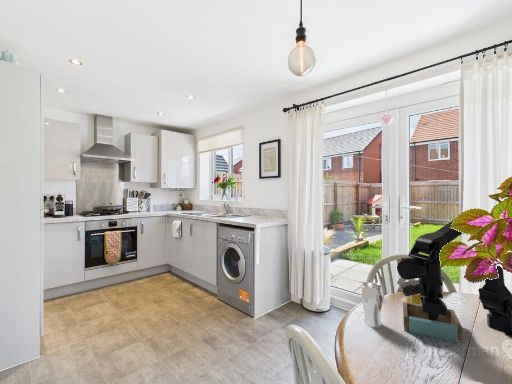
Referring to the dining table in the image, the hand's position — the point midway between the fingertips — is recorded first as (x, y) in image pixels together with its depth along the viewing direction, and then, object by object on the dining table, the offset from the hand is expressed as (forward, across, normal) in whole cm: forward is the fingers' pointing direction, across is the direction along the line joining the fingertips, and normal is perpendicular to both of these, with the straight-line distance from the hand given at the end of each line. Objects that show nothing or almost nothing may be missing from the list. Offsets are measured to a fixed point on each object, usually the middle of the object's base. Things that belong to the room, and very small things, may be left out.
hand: (432, 322), depth 83 cm
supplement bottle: (+8, -26, -4) cm, 27 cm away
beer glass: (+6, -2, -18) cm, 19 cm away
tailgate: (+5, -2, 0) cm, 6 cm away
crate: (+6, -8, 0) cm, 10 cm away
